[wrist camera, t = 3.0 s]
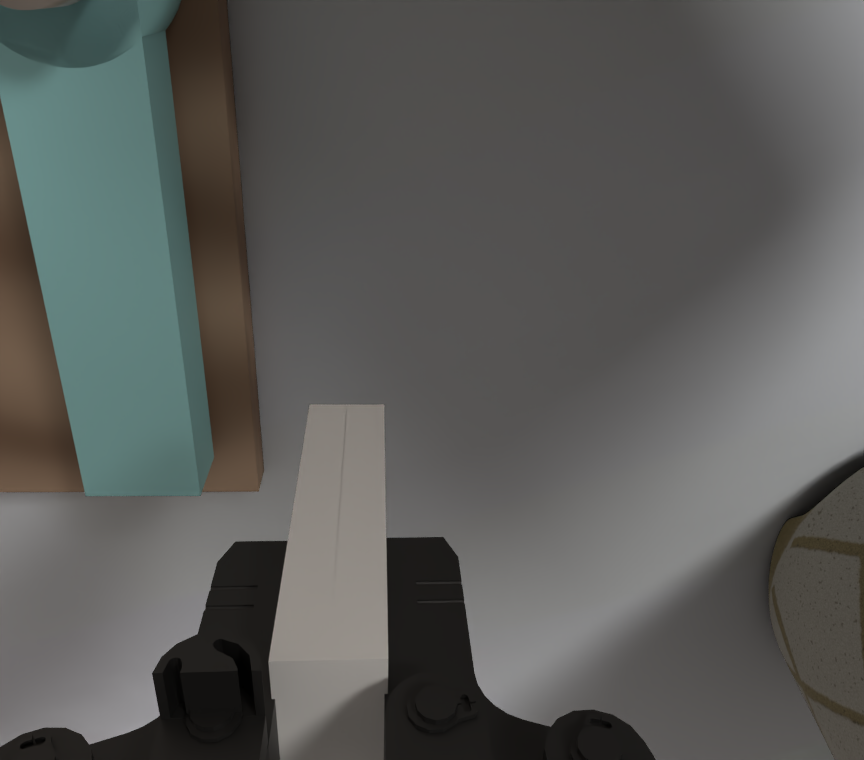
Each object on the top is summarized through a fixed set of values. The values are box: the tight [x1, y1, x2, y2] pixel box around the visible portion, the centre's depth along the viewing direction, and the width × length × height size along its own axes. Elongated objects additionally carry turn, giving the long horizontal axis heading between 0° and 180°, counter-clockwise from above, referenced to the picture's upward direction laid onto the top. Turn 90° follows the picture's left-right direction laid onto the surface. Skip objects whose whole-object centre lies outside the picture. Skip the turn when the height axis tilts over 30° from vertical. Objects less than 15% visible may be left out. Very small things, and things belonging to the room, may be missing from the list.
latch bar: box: [0, 0, 214, 496], centre depth 24 cm, size 20×6×2 cm, turn 178°
